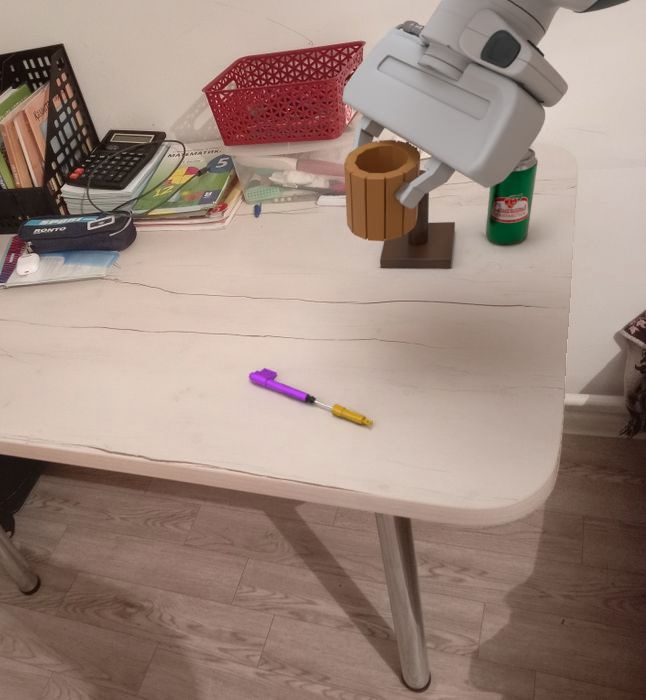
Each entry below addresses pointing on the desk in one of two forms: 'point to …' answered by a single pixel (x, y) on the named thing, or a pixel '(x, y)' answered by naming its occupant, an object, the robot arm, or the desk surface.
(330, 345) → the desk surface
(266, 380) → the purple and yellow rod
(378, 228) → the wooden hollow cylinder
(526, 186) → the soda can
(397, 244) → the stand
